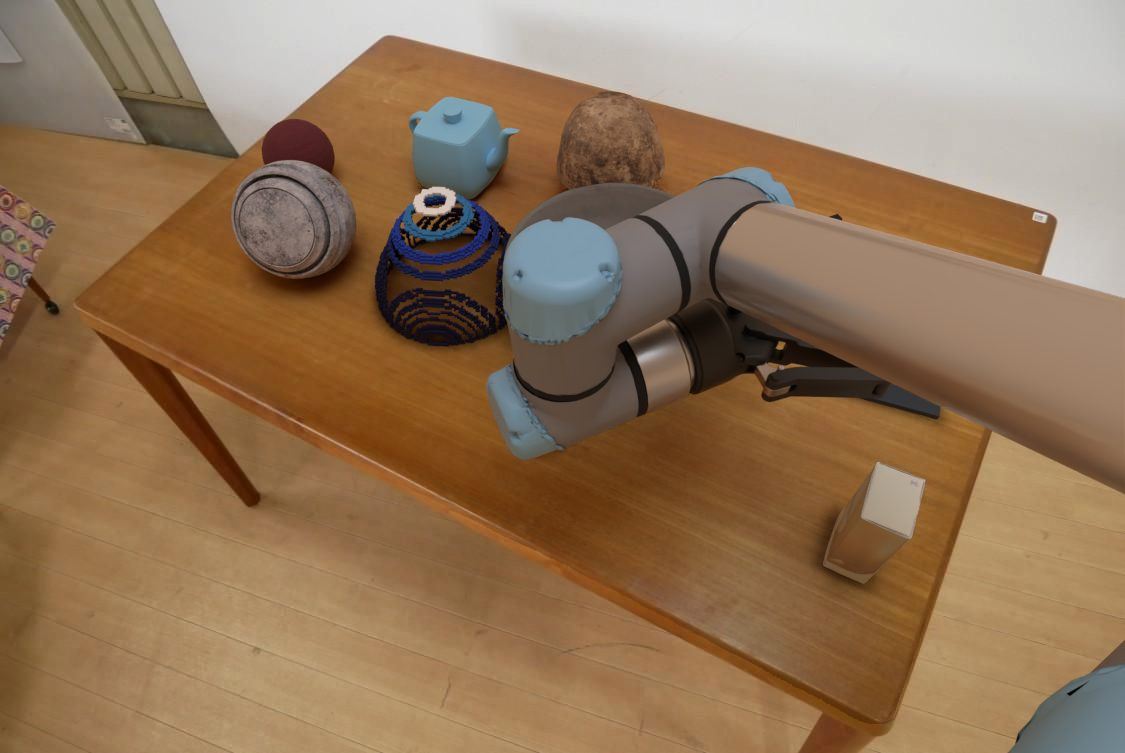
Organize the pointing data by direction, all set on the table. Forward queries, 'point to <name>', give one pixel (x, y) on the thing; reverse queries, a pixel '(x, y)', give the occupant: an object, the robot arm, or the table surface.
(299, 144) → the decorative ball
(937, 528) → the table surface
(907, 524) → the cosmetic box
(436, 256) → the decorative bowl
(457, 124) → the teapot
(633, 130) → the brown rounded lump
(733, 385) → the table surface
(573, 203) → the bowl
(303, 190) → the decorative orb
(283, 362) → the table surface
